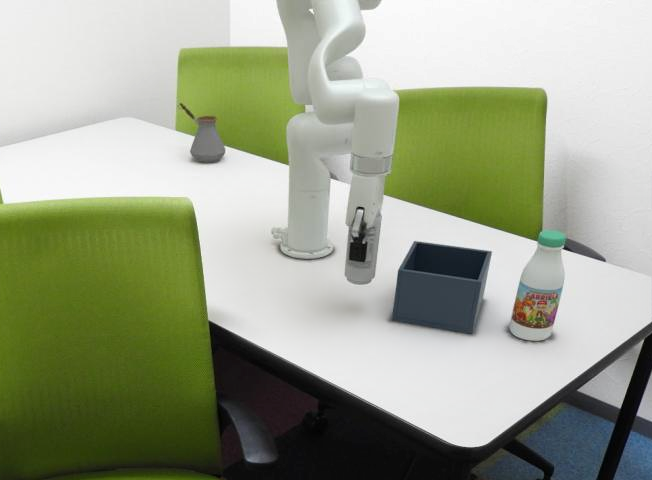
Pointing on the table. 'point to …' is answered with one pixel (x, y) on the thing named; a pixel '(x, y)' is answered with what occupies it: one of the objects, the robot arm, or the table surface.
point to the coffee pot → (206, 139)
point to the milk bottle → (539, 289)
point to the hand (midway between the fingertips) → (361, 253)
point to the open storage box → (441, 286)
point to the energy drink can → (366, 270)
